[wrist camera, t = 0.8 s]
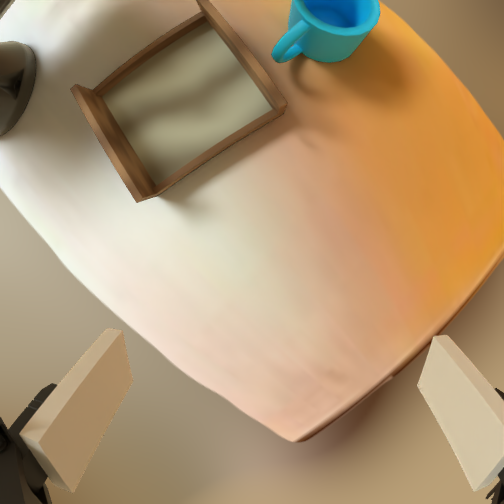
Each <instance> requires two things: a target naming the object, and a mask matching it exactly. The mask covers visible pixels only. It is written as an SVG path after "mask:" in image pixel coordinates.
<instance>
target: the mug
mask: <svg viewBox="0 0 504 504" xmlns="http://www.w3.org/2000/svg"><path fill="white" fill-rule="evenodd" d="M379 16H380V6H379V2H378V0H292V2H291V9H290V16H289V22H288V32H287V33H286V34H285V35H284V36H283V37H282V38H281V39H280V40H279V41H278V43H277V44H276V45H275V47H274V48H273V51H272V54H271V55H272V57H273V59H274V60H275V61H276V62H278V63H282V62H286V61H289V60H291V59H292V58H294V57H296V56H297V55H299V54H300V53H302V54H304V55H305V56H307V57H308V58H311V59H314V60H316V61H320V62H328V63H331V62H337V61H341V60H343V59H345V58H347V57H349V56H350V55H351V54H352V53H353V52H354V51H355V50H356V48H357V47H358V46H359V45H360V43H361V42H362V41H363V40H364V38H365V37H366V36H367V35H368V34H369V32H370V31H371V30H372V29H373V27H374V26H375V25H376V24H377V22H378V19H379ZM292 45H293V46H292ZM291 46H292V47H291Z"/></svg>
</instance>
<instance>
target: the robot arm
mask: <svg viewBox="0 0 504 504" xmlns="http://www.w3.org/2000/svg"><path fill="white" fill-rule="evenodd" d="M14 1H15V0H0V19H1V18H2V17H3V15H4V14H5V13H6V11H7V10H8V9H9V8H10V6H11V5H12V4H13V3H14ZM35 74H36V62H35V57H34V54H33V52H32V50H31V49H30V48H29V47H28V46H27V45H25V44H22V43H19V42H16V41H8V42H0V136H1V135H3V134H5V133H6V132H7V131H9V130H10V129H11V128H12V127H13V126H14V125H15V123H16V122H17V121H18V119H19V118H20V116H21V115H22V113H23V111H24V109H25V107H26V105H27V103H28V101H29V98H30V95H31V92H32V89H33V85H34V81H35ZM132 383H133V378H132V374H131V370H130V365H129V361H128V356H127V351H126V346H125V340H124V335H123V330H118V329H111V328H107V329H106V330H105V331H104V332H103V333H102V334H101V335H100V336H99V337H98V339H97V340H96V341H95V342H94V343H93V344H92V345H91V347H90V348H89V349H88V350H87V351H86V352H85V353H84V355H83V356H82V357H81V358H80V359H79V361H78V362H77V363H76V364H75V365H74V366H73V367H72V369H71V370H70V371H69V372H68V374H67V375H66V376H65V377H64V378H63V379H62V381H61V382H60V383H59V384H58V385H56V384H53V383H52V384H50V385H48V386H47V387H45V388H43V389H42V390H41V391H40V392H39V393H38V394H37V396H36V397H35V398H34V400H32V401H31V403H30V404H29V405H28V407H26V409H25V410H24V411H23V412H22V413H21V415H20V416H19V417H18V418H17V419H16V421H15V422H14V423H13V424H12V426H11V427H10V428H9V429H7V427H6V425H5V424H4V422H3V420H2V419H1V417H0V504H52V502H51V498H50V495H49V492H48V488H47V486H46V484H45V483H44V482H45V481H46V479H47V477H49V479H50V480H51V481H52V483H53V484H54V485H55V486H57V487H59V488H61V489H64V490H66V491H68V492H71V493H74V491H75V489H76V487H77V485H78V483H79V481H80V479H81V477H82V475H83V473H84V471H85V469H86V467H87V465H88V463H89V462H90V460H91V458H92V456H93V454H94V452H95V450H96V448H97V446H98V444H99V443H100V441H101V439H102V437H103V435H104V433H105V431H106V430H107V428H108V426H109V424H110V422H111V420H112V419H113V417H114V415H115V413H116V411H117V409H118V408H119V406H120V404H121V402H122V400H123V399H124V397H125V395H126V393H127V392H128V390H129V388H130V386H131V384H132ZM417 387H418V388H419V390H420V392H421V393H422V395H423V397H424V399H425V400H426V402H427V404H428V406H429V407H430V409H431V411H432V413H433V414H434V416H435V418H436V420H437V421H438V423H439V425H440V427H441V429H442V431H443V432H444V434H445V436H446V438H447V440H448V442H449V444H450V445H451V447H452V449H453V451H454V453H455V455H456V457H457V459H458V461H459V463H460V465H461V467H462V469H463V471H464V473H465V475H466V477H467V479H468V481H469V483H470V485H471V487H472V489H473V491H477V490H480V489H482V488H484V487H486V486H488V485H490V484H491V482H492V481H493V480H494V479H495V478H496V477H497V475H498V477H499V478H500V481H499V482H498V483H497V485H496V486H495V487H494V488H493V489H492V490H491V491H490V492H489V493H488V495H487V497H486V499H488V498H489V497H490V496H491V495H492V494H493V493H494V492H495V493H494V496H493V498H492V499H491V500H492V504H504V393H503V392H502V391H500V390H499V389H497V388H495V389H494V388H493V387H492V386H491V385H490V383H489V382H488V381H487V380H486V379H485V377H484V376H483V375H482V374H481V373H480V372H479V370H478V369H477V368H476V367H475V366H474V365H473V363H472V362H471V361H470V360H469V359H468V358H467V357H466V355H465V354H464V353H463V352H462V351H461V350H460V349H459V347H458V346H457V345H456V344H455V343H454V342H453V341H452V340H451V339H450V338H449V336H448V335H441V336H433V340H432V343H431V346H430V350H429V353H428V356H427V359H426V362H425V365H424V368H423V371H422V374H421V376H420V379H419V382H418V385H417Z"/></svg>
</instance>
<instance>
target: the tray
mask: <svg viewBox="0 0 504 504" xmlns="http://www.w3.org/2000/svg"><path fill="white" fill-rule="evenodd" d="M196 1H197V3H198V5H199V7H200V9H201V12H200V13H198V14H196V15H195V16H193V17H191V18H190V19H188V20H186V21H185V22H183V23H181V24H180V25H178V26H177V27H175V28H173V29H172V30H170V31H169V32H167V33H166V34H164V35H163V36H161V37H160V38H158V39H157V40H155V41H154V42H153V43H151V44H150V45H148V46H147V47H146V48H144V49H143V50H141V51H140V52H139V53H137V54H136V55H135V56H133V57H132V58H131V59H129V60H128V61H127V62H126V63H124V64H123V65H122V66H121V67H119V68H118V69H117V70H116V71H114V72H113V73H112V74H111V75H110V76H108V77H107V78H106V79H105V80H104V81H102V82H101V83H100V84H99V85H98V86H97V87H96V88H94V89H93V90H91V89H88V88H85V87H82V86H79V85H76V84H75V85H74V86H73V87H72V88H71V89H70V90H71V91H72V93H73V95H74V97H75V99H76V101H77V103H78V104H79V106H80V108H81V110H82V112H83V114H84V115H85V117H86V119H87V121H88V123H89V124H90V126H91V128H92V130H93V131H94V133H95V135H96V137H97V138H98V140H99V142H100V144H101V145H102V147H103V149H104V150H105V152H106V154H107V155H108V157H109V159H110V160H111V162H112V164H113V165H114V167H115V169H116V170H117V172H118V174H119V175H120V177H121V179H122V180H123V182H124V183H125V185H126V187H127V188H128V190H129V191H130V193H131V195H132V196H133V198H134V199H135V201H136V203H138V202H141V201H144V200H147V199H150V198H153V197H157V196H158V195H160V194H161V193H162V192H164V191H165V190H167V189H168V188H169V187H171V186H172V185H174V184H175V183H176V182H178V181H179V180H181V179H182V178H183V177H185V176H186V175H188V174H189V173H191V172H192V171H194V170H195V169H196V168H198V167H199V166H201V165H202V164H204V163H205V162H207V161H208V160H210V159H211V158H213V157H214V156H216V155H217V154H219V153H220V152H222V151H224V150H225V149H227V148H228V147H230V146H231V145H233V144H234V143H236V142H238V141H239V140H241V139H242V138H244V137H246V136H247V135H249V134H250V133H252V132H254V131H255V130H257V129H259V128H260V127H262V126H264V125H265V124H267V123H269V122H270V121H272V120H274V119H275V118H277V117H279V116H281V115H282V114H284V111H285V108H286V105H287V102H286V100H285V99H284V97H283V96H282V94H281V93H280V92H279V90H278V89H277V87H276V86H275V84H274V83H273V82H272V80H271V79H270V77H269V76H268V75H267V73H266V72H265V70H264V69H263V68H262V66H261V65H260V64H259V62H258V61H257V60H256V58H255V57H254V56H253V54H252V53H251V52H250V50H249V49H248V48H247V47H246V45H245V44H244V43H243V41H242V40H241V39H240V38H239V36H238V35H237V34H236V33H235V31H234V30H233V29H232V28H231V26H230V25H229V24H228V23H227V22H226V20H225V19H224V18H223V17H222V16H221V14H220V13H219V12H218V11H217V10H216V8H215V7H214V6H213V5H212V4H211V3H210V2H209V0H196Z"/></svg>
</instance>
